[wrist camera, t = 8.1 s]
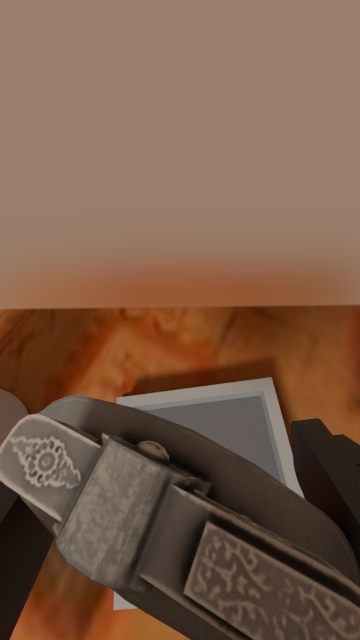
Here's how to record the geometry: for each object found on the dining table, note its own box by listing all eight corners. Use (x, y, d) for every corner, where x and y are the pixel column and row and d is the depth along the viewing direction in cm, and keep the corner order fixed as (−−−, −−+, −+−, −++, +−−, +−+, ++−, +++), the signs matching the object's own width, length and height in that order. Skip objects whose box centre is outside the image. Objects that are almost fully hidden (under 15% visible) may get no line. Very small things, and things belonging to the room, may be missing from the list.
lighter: (99, 486, 13) (-137, 508, 4) (133, 417, 14) (5, 330, 6) (270, 587, 11) (498, 1087, 2) (291, 493, 12) (482, 541, 3)
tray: (271, 379, 27) (275, 370, 25) (327, 587, 19) (340, 601, 17) (120, 399, 28) (111, 393, 25) (118, 605, 20) (106, 621, 18)
